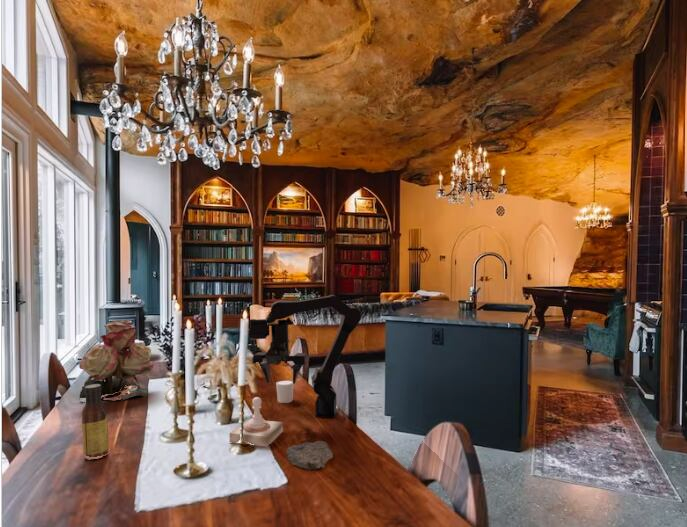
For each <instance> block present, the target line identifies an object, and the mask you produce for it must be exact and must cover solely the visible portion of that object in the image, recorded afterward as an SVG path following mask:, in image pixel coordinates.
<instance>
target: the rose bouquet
mask: <svg viewBox="0 0 687 527" xmlns="http://www.w3.org/2000/svg"><path fill="white" fill-rule="evenodd" d="M132 322H133V321H132V320H129V319H126V320H121V319H120V320H118V319H117V320H112V321H111V322H110V323H106V324H104V325H103V327H105V329H107V332H108V333H105V334H103V335H100V338H101V339H102V342H103V344H101V343H98V344H96V345H94V346H93V347H92V348H91V349H90V350H89V351H88V352H87V353H86V354H85V355H84V356H83V357H82V360H80V362H79V365H78V366H79V369H81V370H83V371H84V372H86V374H88V375H89V376H88V378H87V379H86V380H85V381H84V384H83V386H82V387H81V390H80V394H79V399H80V398H86V393H85V387H86V386H88V385H93V384H100V385H101V396H102V395H105V394H113V393H115V392H119V391H120V389H121V388H123V387H126V386H137V387H136V388H131V389H128V390H127V391H129V392H133V393H130V394H128V393H125V395H121V396H116V395H115V396H116V397H118V398H120V397H121V399H123V400H122V401H124V400H127V399H130V398H133V397H137V396H141V397H143V396H145V397H146V396H148V395H149V393H148V392H147V391H146V389H147V388H148V386H145V387H140V385H141V384H140V382H139V380H138V378H137V377H136V376H137V375H138V376H139V375H142V376H144V375H147V374H148V373H150V372H152V371H153V370H154V362H153V361H150V359H151V358H152V357H151V355H152V350H151V348H150V347H149V346H146V345H145V344H144V343H141V342H136V339H137V337H138V332H136V326H135V325H132ZM134 380H135V381H134ZM125 385H126V386H125ZM123 389H124V388H123ZM113 398H114V397H113Z"/></svg>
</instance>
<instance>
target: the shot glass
mask: <svg viewBox="0 0 687 527" xmlns="http://www.w3.org/2000/svg"><path fill="white" fill-rule="evenodd" d="M275 386H276V396H277V402H278V403H280V404H288V403H292V402H293V398H294V386H295V384H293V380H279V381H276V382H275Z"/></svg>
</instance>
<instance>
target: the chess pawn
mask: <svg viewBox="0 0 687 527" xmlns="http://www.w3.org/2000/svg"><path fill="white" fill-rule="evenodd" d="M251 404H252V406H251V408H252V409H253V415H252V416H251V417H252V418H250V419H251V420H250V421H249V428H250V429H255V430H256V429H262V428H264V427H265V421H266V420H265V419H264V417H263V415H262V414H261V411H260V409H262V398H260V397H258V396H255V397H253V398H252V401H251Z"/></svg>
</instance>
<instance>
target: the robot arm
mask: <svg viewBox="0 0 687 527" xmlns="http://www.w3.org/2000/svg"><path fill="white" fill-rule="evenodd" d="M327 308H332V309H334V310H336V311H337V312H338V313H340V314H341V317H340V319H339V320H340V321H339V328H338V331H337V333H336V335H335V337H334V340H333V341H332V344H331V346H330V348H329V351H328V353H327V354H326V358H325V360H324V362H323V364H322V366H321V367H320V368H318V367H315V369H314V372H313V375H312V376H311V377H310V378H311V385H312V390H313V392H314V393H315V394H316V395H317V397H316V400H315V404H314V405H315V406H314V409H315V417H316V418H317V417H318V418H327V419H328V418H330V419H331V418H335V416H336V415H337V414H338V412H339V410H338V409H337V392H336V390H335V389H334V387H333V385H332V382H333V376H334V371H335V368H336V366H337V364H338V361H339V359H340V357H341V355H342V352H343V351H344V348H345V346H346V344H347V341H348V339H349V337H350V335H351V334H352V332H353V331H354V330H355V329H356V328H357V327H358V325H359V323H360V321H361V319H362V313H361V311H360V309H358V308H357V307H355V306H352V305H348V304H346V303H345V302H343V301H342V300H341V299H339V298H338V296H336V295H334V294H329V295H326V296H320V297H315V298H309V299H302V300H276V301H274V302H273V303H271V307H270V312H269V313H268V314H267V316H266V317H265V318H263V319H261V318H260V319H255V318H251V319H249V330H248V331H249V332H248V333H249V334H248V335H249V340H251V341H253V340H265V339H267V337H269V336H270V331H271V342H270V344H269V349H268V350H267V351H266V352H265V351H264V352H262V351H258V352H256V353H255V354H253V355H252V357H251V358H252V359H251V360H252V362H251V363H252V364H253V363H254V364H255V363H256V362H259V364H260V366H261V368H260V369H261V370H262V372H263V374H264V378H265V380H266V383H267V384H270V382H271V365H277V366H278V365H280V364H281V363H282V362H292V363H293V365H292V381H293V384H294V385H295V384H296V382H297V379H298V376H299V373H300V372H301V371H300V370H301V368H302V367H303V366H305V365H306V364H307V363H308V362H309V361H310V355H309V354H308V353H306V352H304V353H303V352H298V353H296V354H294V355H291V351H290V344H289V343H290V342H291V340H290V338H289V326H293V325H294V321H293V320H291V318H290V317H291V316H294V315H295V314H298V313H302V312H304V313H305V312H308V311H315V310H321V309H327ZM285 318H286V319H285ZM275 321H276V322H275ZM270 327H271V328H270ZM270 329H271V330H270ZM255 365H256V364H255Z"/></svg>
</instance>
